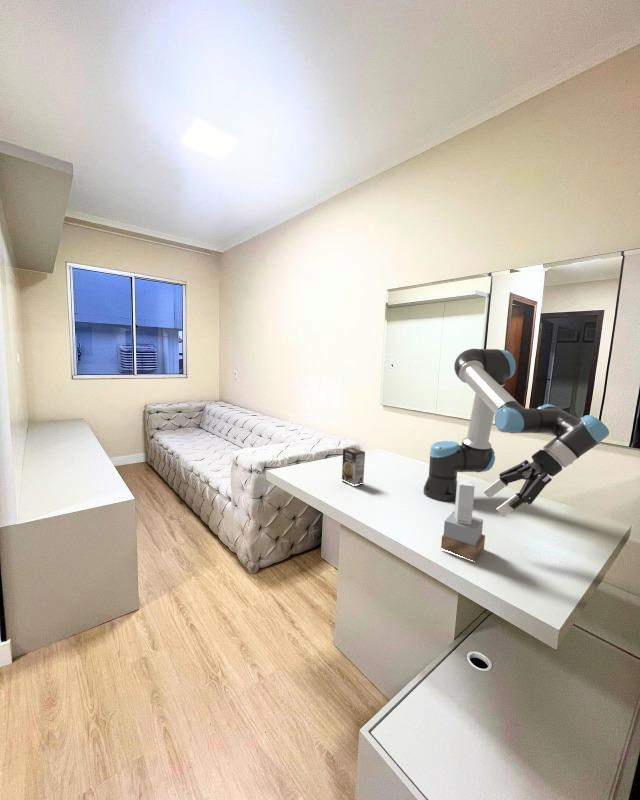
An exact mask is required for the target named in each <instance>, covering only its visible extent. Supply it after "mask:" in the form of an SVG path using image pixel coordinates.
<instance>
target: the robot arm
mask: <svg viewBox="0 0 640 800" xmlns="http://www.w3.org/2000/svg"><path fill="white" fill-rule="evenodd" d="M516 365H517V364H516V360H515V357H514V355H513V354H512V353H511V352H509V351H508V350H505V349H497V348H492V349H491V348H469V349H466V350H464V351H462V352H461V353H460V354H458V356H457V357H456V359H455V361H454V367H453V368H454V372H455V375H456V376H457V378H458V379H459V380H460V381H461V382H462V383H463V384H464V383H465V384H467V385H468V386H469V387H470V388H471V390H472V391H473V392H475V395H474V399H473V404H472V410H471V414H470V420H469V424H468V425H469V426H468V431H467V436H465V437H463V438H462V442H461V444H459V443H458V442H457V441H453V440H452V441H450V440H449V441H448V440H444V441H443V440H442V441H436V442H433V444H432V445H431V447H430V451H429V466H428V477H427V479H426V481H425V484H424V486H423V494H424V495H425V496H426V495H427V496H426V497H428V498H430V497H431V499H433V500H436V499H437V501H441V500H442V502H443V501H444V502H456V491H457V479H458V473H485V472H487V471H490V470H491V469H493V467H494V465H495V460H496V455H495V450H494V449H493V447H492V444H491V443H490V436H491V431H492V426H493V421H494V423H495V424H496V425H495V427H496V429H497V430H498V431H499V432H501V433H506V434H507V433H510V434H551V435H553V436H555V438H553V439H552V440H550V441H549V442H548V443H547V444H545V445H544V446H543V448H542V449H539V450H538V451H537V452H534V453H533V454H532V455H531V459H532V462H530V461H529V460H527V459H525V460H523V461H522V462H520V463H518V464H517V465H514V466H513V467H511V468H509V469H506V470H504V471H502V472H500V473H499V474H498V476H499V478H498V479H497V480H496V481H494V482H493V483H492V484H491V485H489V486H488V487H486V488H485V489H484V490H483V491H482V492H483V494H485V495H486V497H487V498H488V499H491V498H492V497H493V496H494V495H496V494H497V493H499V492H500V491H501V490H503V489H504V488H506V487H508V486H509V485H508V484H510V483H514V482H517V481H520V480H524V483H523V485H522V487H521V488H520V490H519V492H515V494H514V495H512V496H511V497H510V498H508V499H507V500H505V501H504V502H502V503H501V504H500V505H499V506H498V507H496V510H497V511H498V512H499V513H500V515H501V516H502V517H506V516H507V515H509V513H512V511H514V510H516V508H518V507H519V506H521V505H522V504H527V505H532V504H533V502H534V501H535V500H536V499H537V498H538V496H539V495H540V493H541V492H542V491H543V490H544V488H545V487H546V486H547V485H548V484H549V483H550V482H551V481H552V480H553V478H551V477H555V476H556V475H558V474H559V473H560V472H562V471H563V468H567V467H568V466H569V465H572V464H574V462H575V461H576V460H577V459H579V458H580V457H581V456H583V455H584V454H586V453H587V452H588V451H591V449H593V448H594V447H596V446H597V445H598V446H599V444H600V443H601V442H602V441H603V440H604V439H606V438H607V437H608V436H609V435H610V431H609V429H608V427H607V426H606V425H605V423H603V421H601V420H600V419H598V418H597V417H595V416H593V415H590V414H587V415H584V416H582V417H580V418H578V417H576V416H573V415H572V414H570V413H569V412H566V411H565V410H563V409H562V408H560V407H558V406H555V405H553V404H550V403H548V404H547V403H546V404H543V405H540V406H538V407H537V408H527V407H526V408H525V407H524V406H522V404H520V403H519V402H518V401H517V400H516V399H515V398H514V397H513V396H512V395H511V394H510V393H509V392H508V391H507V390H506V389H504V386H505V385H506V381H507V380H508V379H511V378H512V377H513V376H514V375H515V373H516Z"/></svg>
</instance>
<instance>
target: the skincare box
mask: <svg viewBox="0 0 640 800" xmlns="http://www.w3.org/2000/svg"><path fill="white" fill-rule="evenodd" d="M474 497H475V485H474V483H473V481H472V480H470V479H463V478H462V479H461V478H457V491H456V500H455V505H454V512H455V518H456V522H457V523H461V524H468V525H471V523H472V517H473V511H474V510H473V509H474V508H473V507H474V499H475V498H474Z"/></svg>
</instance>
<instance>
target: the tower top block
mask: <svg viewBox="0 0 640 800" xmlns="http://www.w3.org/2000/svg"><path fill="white" fill-rule="evenodd" d="M483 522H484V519H483V518H479V517H476V516H472V523H471V525H468V524H461V523H457V522H456V518H455V510H454V511H452V512H451V513H450V514H449V516H448V517H447V518H446V519H445V520H444V525H443V535H444V537H447V538H450V539H453V540H456V541H459V542H462V543H465V544H468V545H472V546H475V545H476V544H477V542H478V540H479V539H480V537H481V535H482V534H483V525H484V523H483Z"/></svg>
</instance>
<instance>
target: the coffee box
mask: <svg viewBox="0 0 640 800" xmlns="http://www.w3.org/2000/svg"><path fill="white" fill-rule="evenodd" d="M365 459H366V451H365V450H360V449H357V448H354V447H349V448H342V467H341V468H342V469H341V480H342V479H343V480H345V481H347V482H349V483H352V484H354V485H355V484H360V483H363V484H364V477H365V464H366V463H365Z"/></svg>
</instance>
